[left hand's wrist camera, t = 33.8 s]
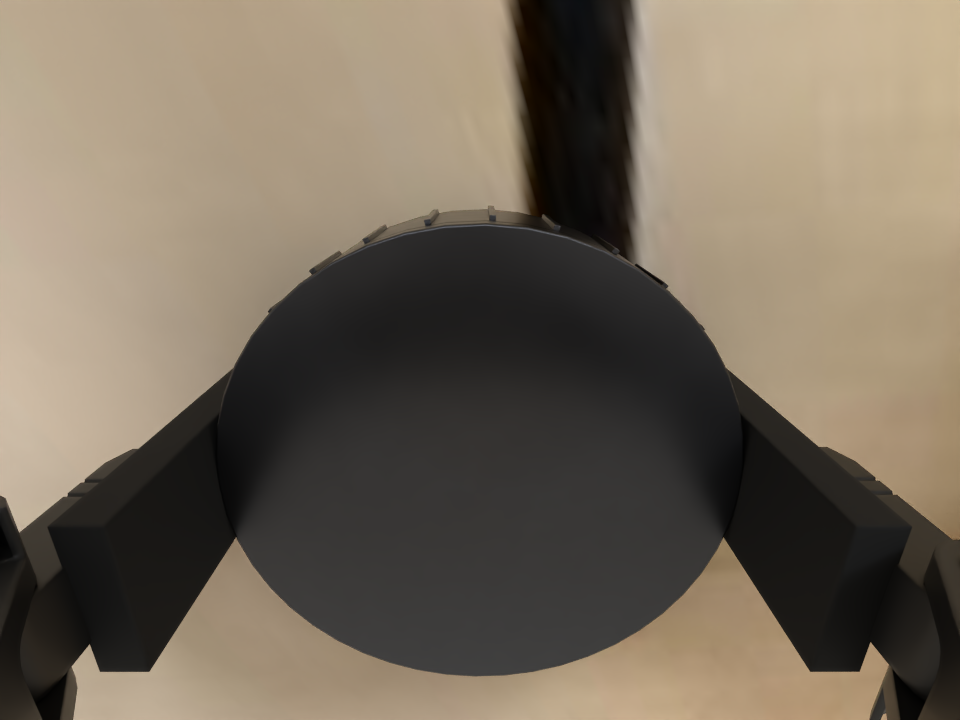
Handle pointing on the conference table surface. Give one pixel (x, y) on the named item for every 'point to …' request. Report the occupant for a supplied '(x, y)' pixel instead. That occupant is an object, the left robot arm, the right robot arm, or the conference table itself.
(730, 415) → the lid
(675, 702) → the conference table surface
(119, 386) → the conference table surface
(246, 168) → the conference table surface
